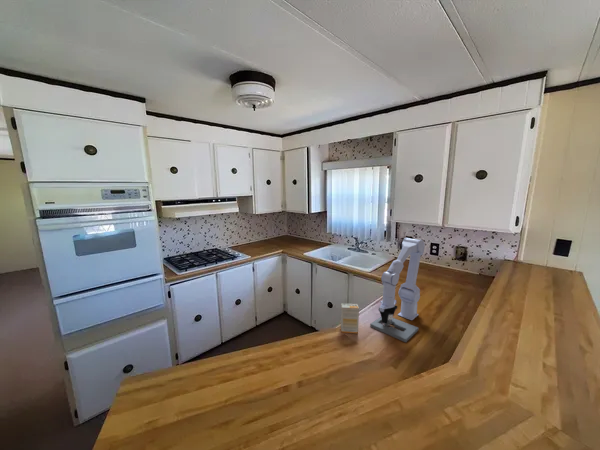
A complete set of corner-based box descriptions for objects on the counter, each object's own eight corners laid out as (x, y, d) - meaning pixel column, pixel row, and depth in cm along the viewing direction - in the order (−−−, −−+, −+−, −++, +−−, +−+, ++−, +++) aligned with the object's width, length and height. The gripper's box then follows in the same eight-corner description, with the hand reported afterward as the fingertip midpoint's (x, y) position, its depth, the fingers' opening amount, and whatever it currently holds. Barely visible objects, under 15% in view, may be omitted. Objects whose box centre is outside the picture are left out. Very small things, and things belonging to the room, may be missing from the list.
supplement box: (356, 328, 117) (357, 303, 116) (358, 334, 112) (359, 308, 111) (340, 327, 118) (341, 302, 117) (340, 332, 113) (341, 307, 112)
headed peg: (384, 321, 124) (385, 310, 124) (394, 325, 120) (394, 313, 120) (379, 324, 121) (380, 313, 120) (389, 328, 117) (389, 317, 116)
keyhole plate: (384, 317, 130) (384, 314, 129) (418, 330, 117) (418, 327, 116) (370, 326, 119) (370, 323, 119) (405, 342, 106) (405, 339, 106)
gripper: (388, 289, 127) (386, 313, 128) (374, 296, 117) (373, 322, 118) (400, 293, 122) (399, 318, 123) (387, 301, 112) (386, 328, 113)
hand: (387, 320), depth 120 cm, fingers closed on headed peg, 5 cm apart
